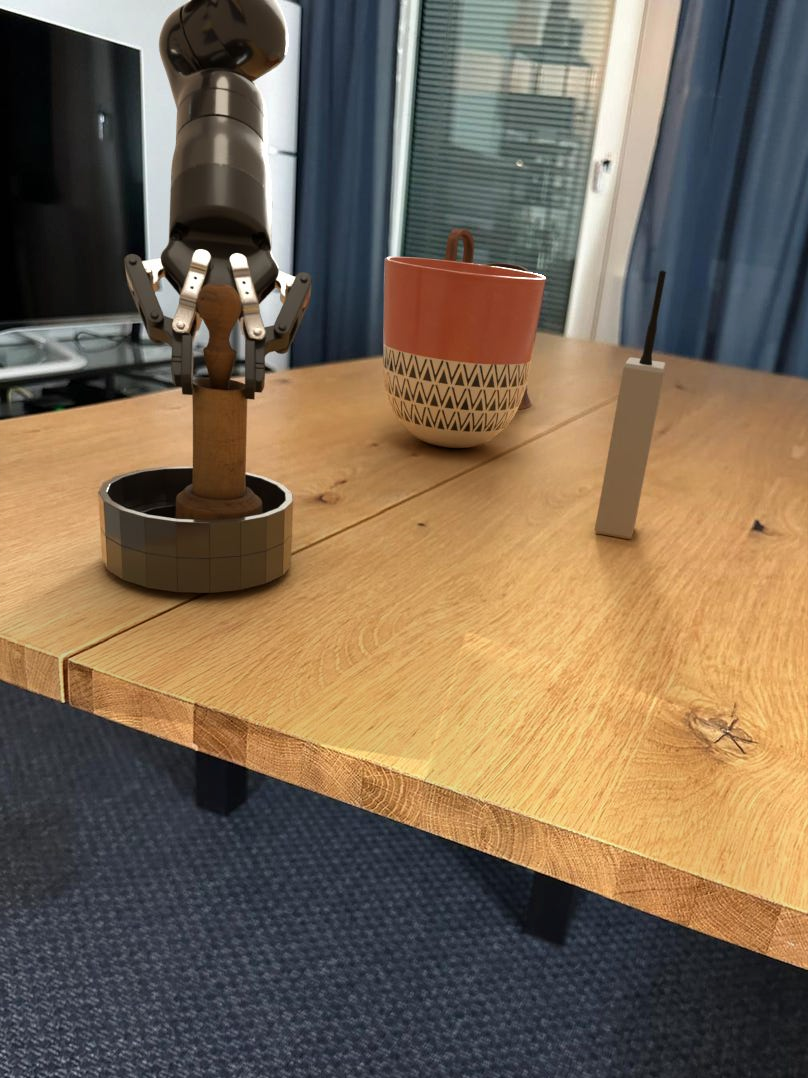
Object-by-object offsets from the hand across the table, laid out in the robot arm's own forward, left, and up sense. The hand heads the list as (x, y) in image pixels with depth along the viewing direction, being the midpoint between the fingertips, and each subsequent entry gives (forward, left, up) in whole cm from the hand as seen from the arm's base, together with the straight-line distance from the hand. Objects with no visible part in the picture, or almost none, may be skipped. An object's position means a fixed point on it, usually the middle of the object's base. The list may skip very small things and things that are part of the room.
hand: (219, 390), depth 66 cm
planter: (+11, +54, -15) cm, 57 cm away
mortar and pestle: (-1, +2, -11) cm, 11 cm away
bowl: (-2, +2, -14) cm, 15 cm away
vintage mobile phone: (+32, +27, -15) cm, 44 cm away
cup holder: (+10, +86, -15) cm, 87 cm away
